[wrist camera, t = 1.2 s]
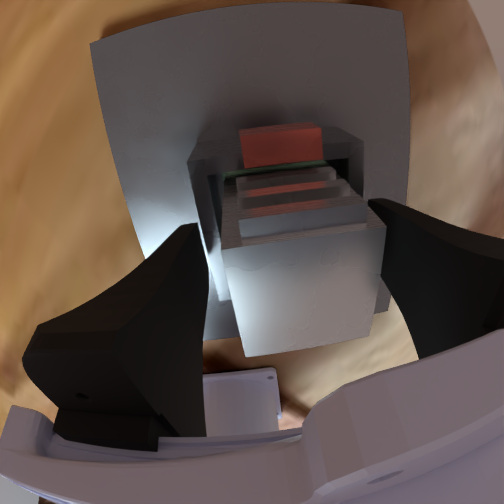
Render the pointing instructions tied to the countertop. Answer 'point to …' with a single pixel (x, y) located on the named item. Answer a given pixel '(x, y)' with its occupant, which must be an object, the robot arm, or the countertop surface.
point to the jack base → (252, 113)
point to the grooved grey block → (299, 257)
